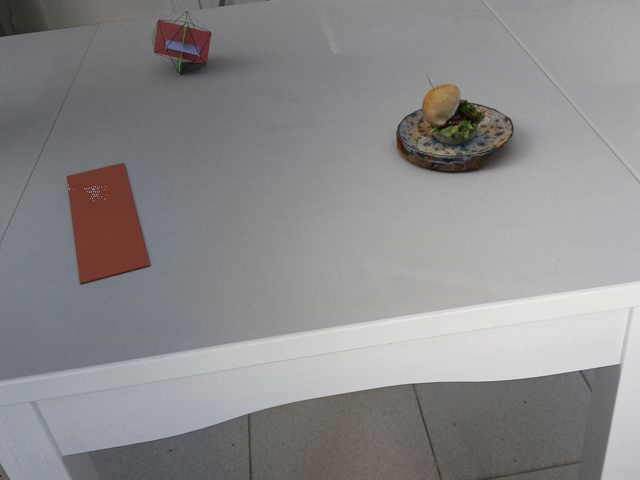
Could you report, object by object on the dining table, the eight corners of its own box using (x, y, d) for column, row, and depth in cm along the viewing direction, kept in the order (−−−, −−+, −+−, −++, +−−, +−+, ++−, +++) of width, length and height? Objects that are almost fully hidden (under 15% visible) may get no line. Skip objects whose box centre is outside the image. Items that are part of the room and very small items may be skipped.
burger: (499, 179, 69) (505, 103, 64) (381, 166, 72) (377, 93, 67) (522, 121, 77) (529, 50, 72) (415, 112, 80) (413, 44, 75)
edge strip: (80, 284, 62) (79, 283, 62) (66, 176, 76) (66, 175, 76) (149, 265, 63) (149, 264, 63) (123, 163, 77) (123, 162, 77)
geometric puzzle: (224, 35, 96) (176, -11, 92) (226, 54, 91) (175, 6, 87) (188, 74, 99) (140, 31, 94) (188, 94, 94) (138, 50, 89)
